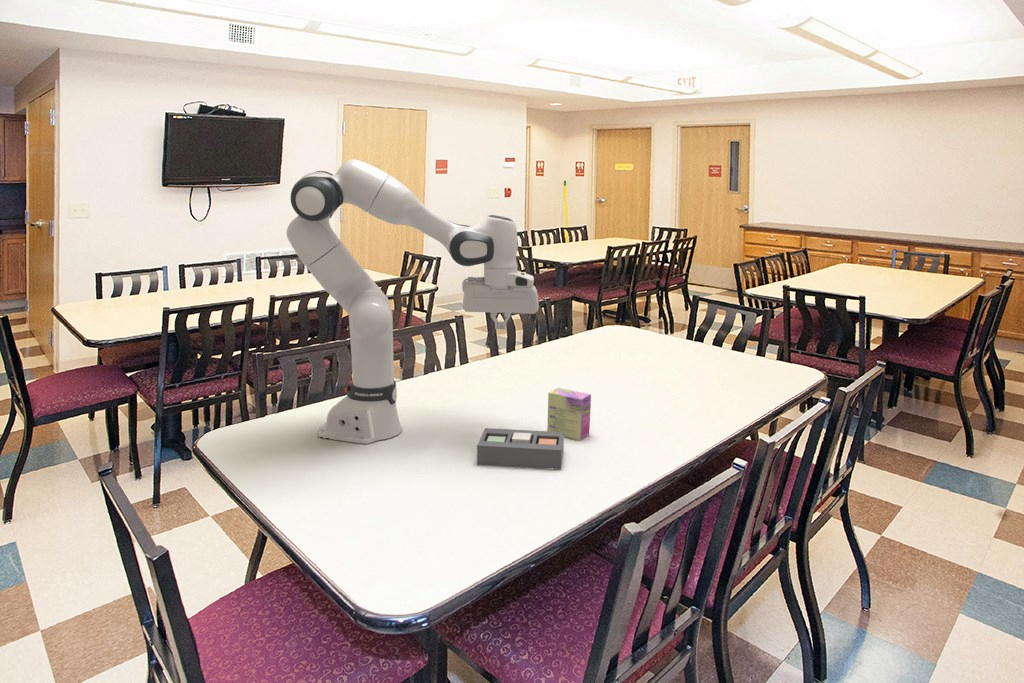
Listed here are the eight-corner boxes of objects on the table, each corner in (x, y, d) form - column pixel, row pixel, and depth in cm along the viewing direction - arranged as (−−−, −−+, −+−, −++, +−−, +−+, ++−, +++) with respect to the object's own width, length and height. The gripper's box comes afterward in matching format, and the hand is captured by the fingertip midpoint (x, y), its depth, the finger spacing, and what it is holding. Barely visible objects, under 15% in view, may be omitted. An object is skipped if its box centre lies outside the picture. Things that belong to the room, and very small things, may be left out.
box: (590, 434, 190) (591, 393, 187) (580, 441, 185) (581, 399, 182) (556, 427, 195) (557, 387, 193) (546, 433, 191) (547, 392, 188)
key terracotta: (537, 451, 171) (537, 445, 171) (539, 445, 175) (539, 438, 175) (555, 452, 170) (555, 445, 170) (556, 446, 175) (556, 439, 174)
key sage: (486, 449, 173) (486, 442, 172) (488, 442, 177) (488, 435, 176) (503, 450, 172) (503, 443, 172) (505, 443, 176) (505, 436, 176)
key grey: (511, 445, 171) (511, 438, 171) (514, 439, 176) (514, 432, 175) (529, 446, 171) (529, 439, 170) (531, 440, 175) (531, 433, 175)
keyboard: (477, 464, 170) (477, 445, 169) (485, 446, 181) (485, 428, 180) (560, 469, 167) (561, 450, 166) (563, 450, 179) (564, 432, 178)
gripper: (459, 278, 181) (460, 329, 184) (537, 280, 178) (536, 332, 181) (464, 275, 187) (464, 325, 190) (539, 276, 184) (538, 327, 187)
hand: (500, 328), depth 186 cm, fingers closed
